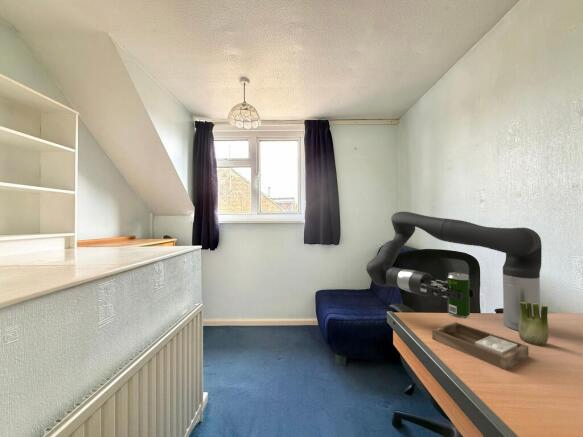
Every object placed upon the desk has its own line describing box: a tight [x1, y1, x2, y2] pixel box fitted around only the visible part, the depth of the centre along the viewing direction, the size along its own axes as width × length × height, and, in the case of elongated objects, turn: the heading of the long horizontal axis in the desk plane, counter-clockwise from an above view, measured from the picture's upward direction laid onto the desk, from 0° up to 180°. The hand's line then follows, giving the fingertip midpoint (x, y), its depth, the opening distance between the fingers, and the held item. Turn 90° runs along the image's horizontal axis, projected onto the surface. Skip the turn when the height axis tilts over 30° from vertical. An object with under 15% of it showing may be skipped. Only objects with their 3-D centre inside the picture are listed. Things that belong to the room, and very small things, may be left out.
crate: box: [431, 321, 530, 371], centre depth 71 cm, size 12×18×4 cm, turn 28°
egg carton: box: [475, 335, 517, 355], centre depth 67 cm, size 8×6×4 cm
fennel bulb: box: [518, 302, 550, 347], centre depth 74 cm, size 6×5×12 cm
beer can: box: [447, 272, 471, 319], centre depth 75 cm, size 5×5×12 cm
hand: (467, 295), depth 73 cm, fingers closed on beer can, 5 cm apart
